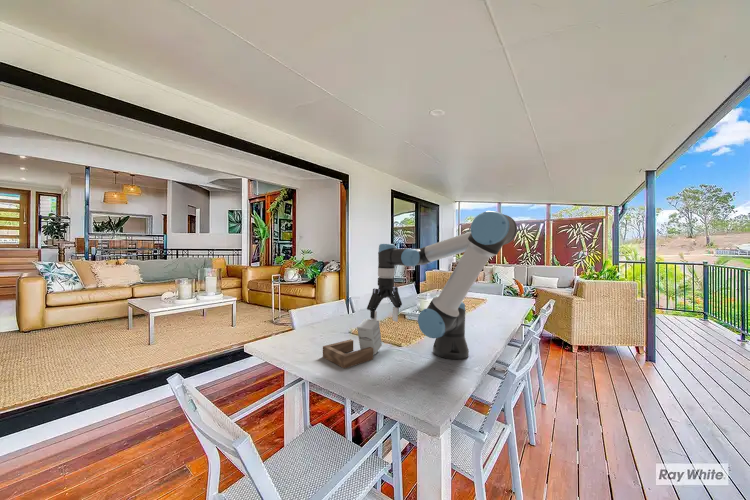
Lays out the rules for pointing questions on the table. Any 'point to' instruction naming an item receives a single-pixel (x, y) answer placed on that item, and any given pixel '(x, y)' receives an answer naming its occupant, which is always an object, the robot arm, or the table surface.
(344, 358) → the u rest
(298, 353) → the table surface
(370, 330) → the supplement box
